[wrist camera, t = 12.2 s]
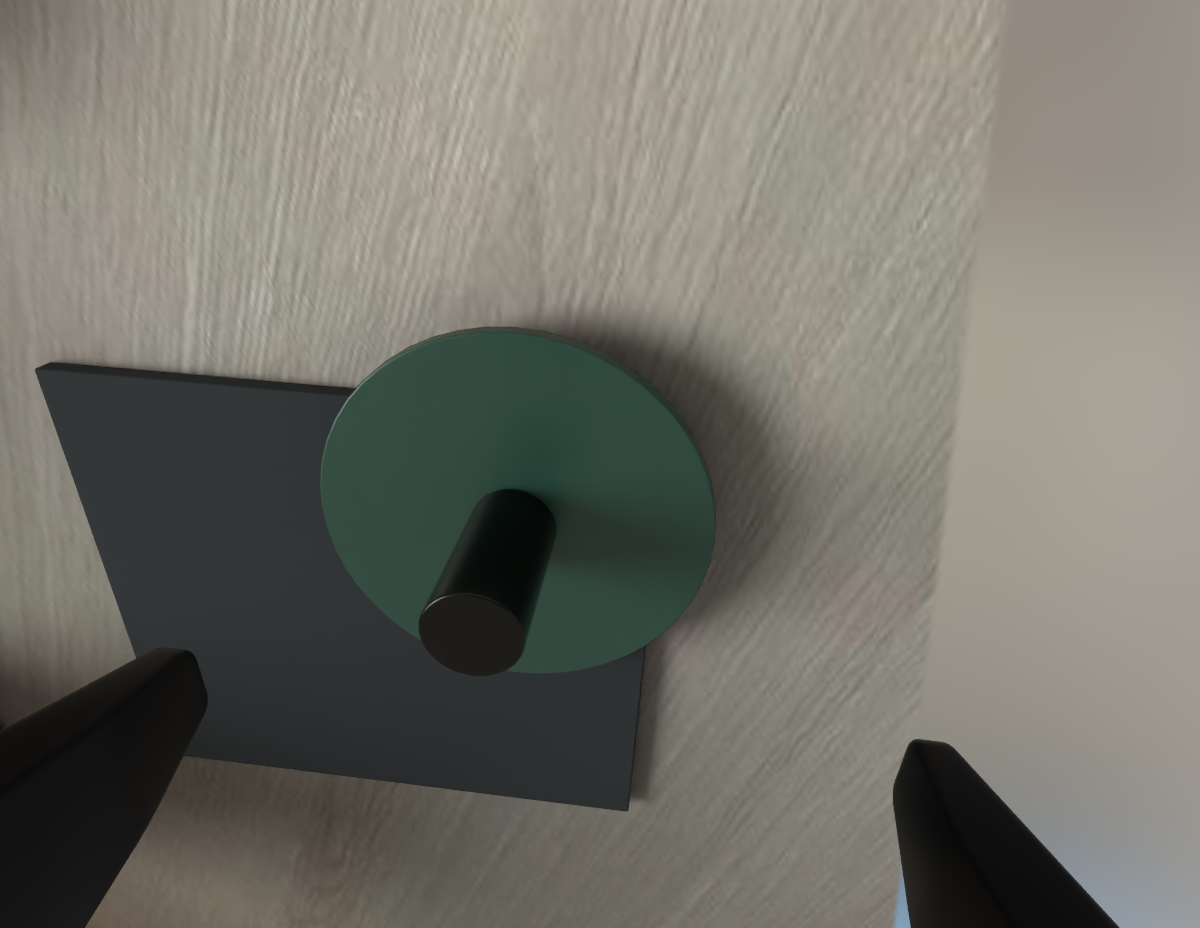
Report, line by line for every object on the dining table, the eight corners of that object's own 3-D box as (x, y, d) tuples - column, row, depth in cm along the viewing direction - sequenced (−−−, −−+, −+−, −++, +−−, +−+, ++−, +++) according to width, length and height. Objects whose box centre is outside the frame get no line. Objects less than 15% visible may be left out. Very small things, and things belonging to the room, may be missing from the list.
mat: (669, 415, 19) (669, 424, 19) (629, 798, 27) (628, 812, 26) (49, 361, 20) (33, 368, 20) (179, 742, 28) (169, 754, 28)
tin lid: (740, 336, 17) (763, 434, 12) (691, 666, 23) (694, 827, 18) (310, 303, 18) (172, 382, 13) (359, 630, 23) (273, 775, 18)
